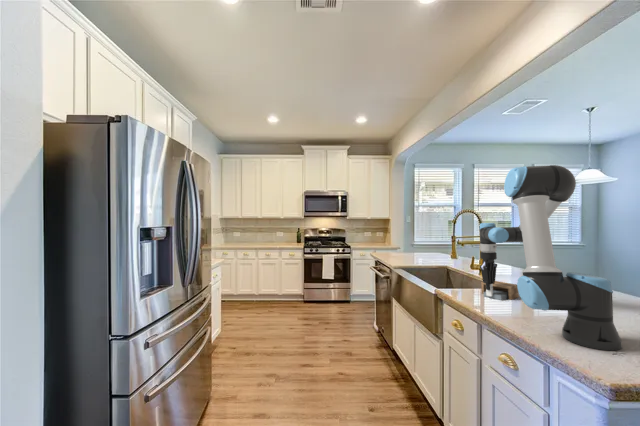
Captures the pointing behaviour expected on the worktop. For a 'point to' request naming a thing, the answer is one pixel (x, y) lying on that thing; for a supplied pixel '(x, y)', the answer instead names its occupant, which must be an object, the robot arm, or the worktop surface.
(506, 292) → the tile
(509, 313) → the worktop surface
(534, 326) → the worktop surface
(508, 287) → the tan wooden channel
